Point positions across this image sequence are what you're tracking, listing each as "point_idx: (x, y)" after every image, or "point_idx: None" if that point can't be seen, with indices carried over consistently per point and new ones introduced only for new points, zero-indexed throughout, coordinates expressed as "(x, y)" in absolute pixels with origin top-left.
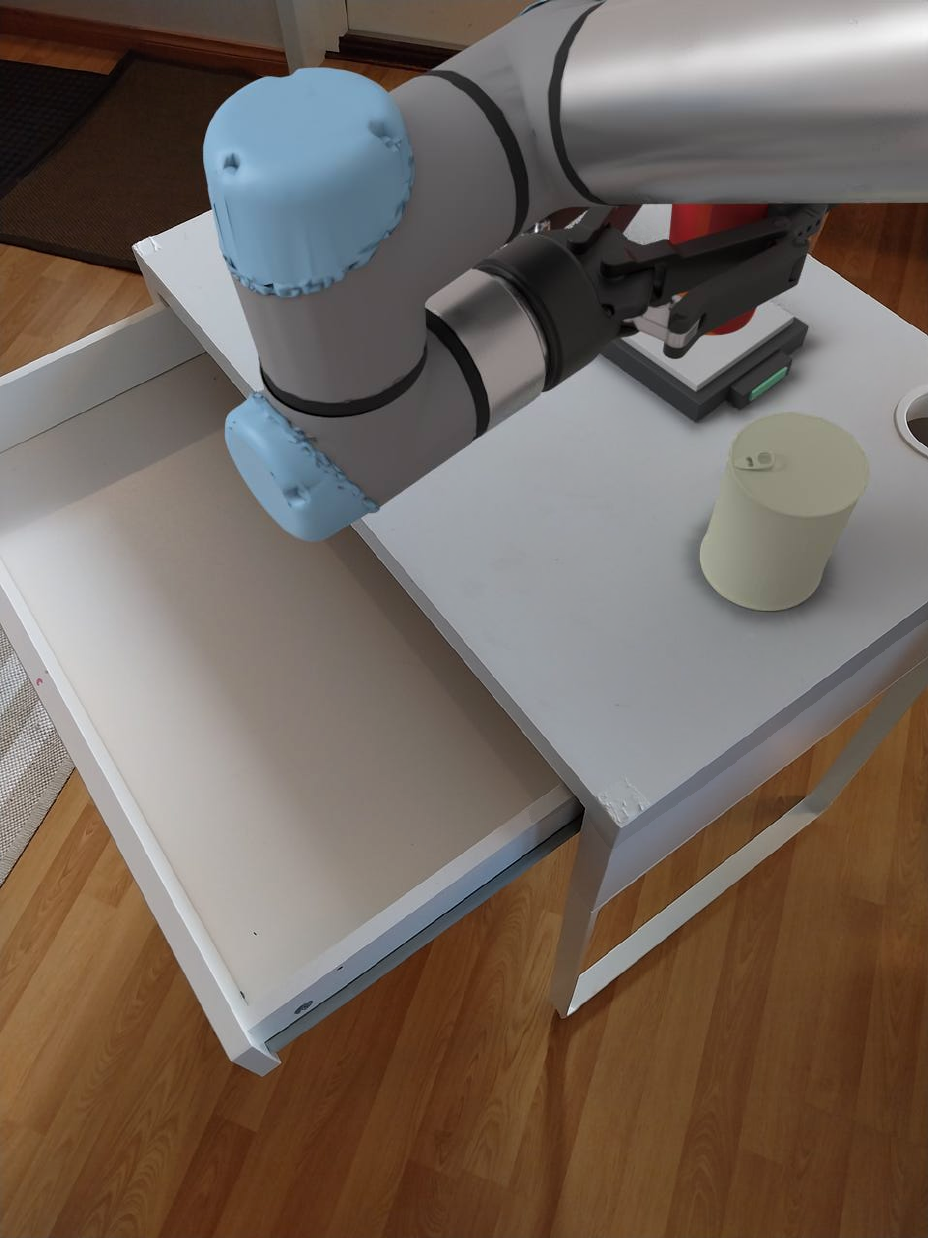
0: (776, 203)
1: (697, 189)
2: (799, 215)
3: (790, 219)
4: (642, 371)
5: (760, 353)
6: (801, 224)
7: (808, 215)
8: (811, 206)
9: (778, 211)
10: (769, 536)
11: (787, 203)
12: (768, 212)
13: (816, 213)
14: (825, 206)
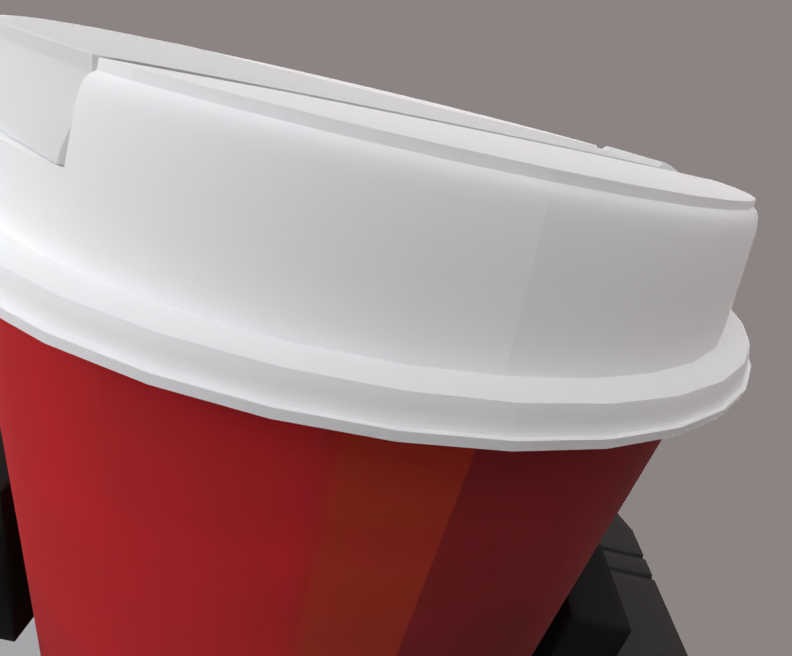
0: (584, 602)
1: None
2: (622, 594)
3: (632, 633)
4: None
5: None
6: (673, 636)
7: (641, 581)
8: (602, 539)
9: (615, 635)
10: None
11: (603, 580)
12: (563, 646)
13: (640, 560)
14: (620, 521)
